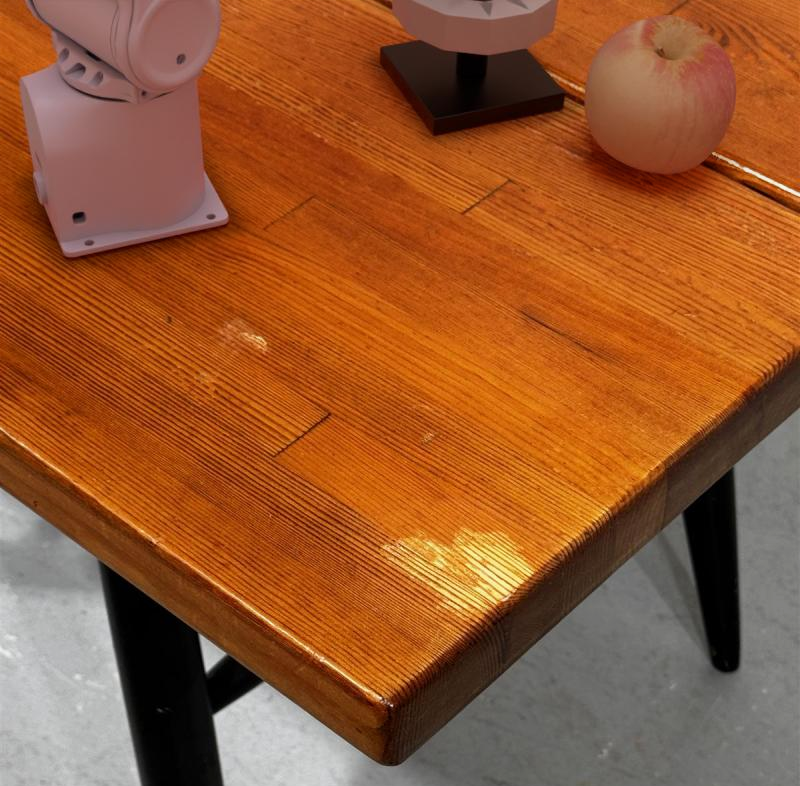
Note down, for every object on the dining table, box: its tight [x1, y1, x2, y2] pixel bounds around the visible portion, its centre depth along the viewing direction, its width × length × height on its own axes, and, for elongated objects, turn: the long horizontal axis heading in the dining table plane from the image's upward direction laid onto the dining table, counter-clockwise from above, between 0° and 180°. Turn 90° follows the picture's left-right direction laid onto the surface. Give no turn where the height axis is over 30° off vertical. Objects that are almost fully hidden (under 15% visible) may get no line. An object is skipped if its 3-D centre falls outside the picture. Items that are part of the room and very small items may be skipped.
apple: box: [583, 14, 737, 175], centre depth 86 cm, size 9×9×8 cm
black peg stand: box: [379, 0, 566, 136], centre depth 92 cm, size 9×9×6 cm
